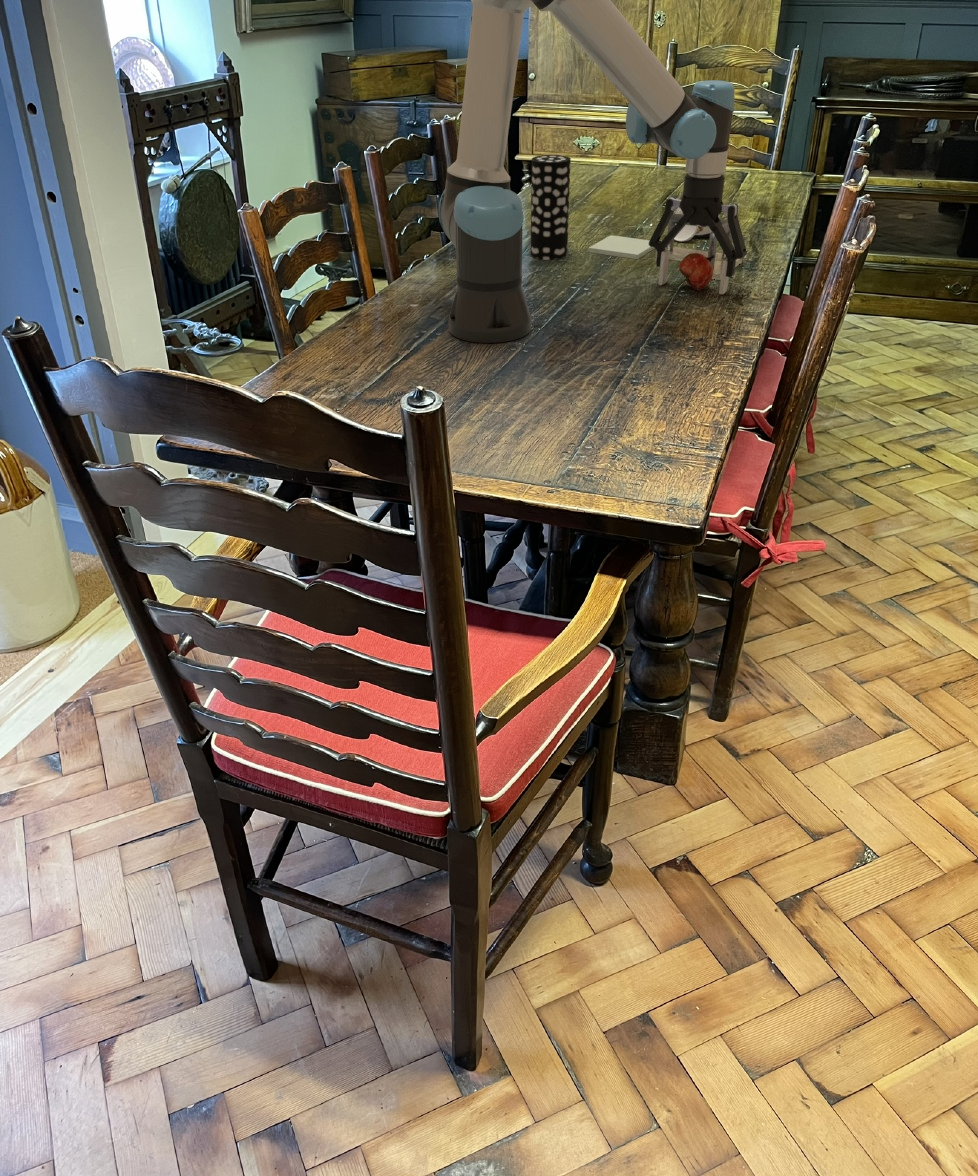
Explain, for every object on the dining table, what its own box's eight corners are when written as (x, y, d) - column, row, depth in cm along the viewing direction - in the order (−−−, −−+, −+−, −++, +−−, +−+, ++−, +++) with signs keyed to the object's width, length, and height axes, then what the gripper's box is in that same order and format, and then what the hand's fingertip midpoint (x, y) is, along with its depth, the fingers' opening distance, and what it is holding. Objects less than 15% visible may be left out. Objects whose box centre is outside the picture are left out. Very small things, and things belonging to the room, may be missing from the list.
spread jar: (715, 231, 225) (721, 180, 218) (719, 244, 216) (726, 191, 209) (664, 230, 226) (669, 179, 219) (667, 243, 217) (672, 190, 210)
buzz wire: (719, 280, 193) (725, 235, 188) (639, 268, 201) (642, 224, 196) (742, 262, 204) (748, 218, 198) (665, 251, 211) (669, 209, 206)
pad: (637, 259, 206) (637, 254, 206) (588, 252, 211) (588, 247, 211) (658, 246, 215) (658, 241, 214) (610, 239, 220) (610, 235, 219)
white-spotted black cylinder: (564, 260, 206) (568, 163, 195) (527, 259, 207) (528, 162, 196) (569, 250, 213) (573, 155, 201) (533, 249, 214) (535, 154, 203)
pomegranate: (684, 306, 187) (728, 275, 183) (664, 276, 184) (708, 244, 181) (680, 299, 193) (722, 268, 190) (660, 270, 191) (702, 238, 187)
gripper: (774, 176, 174) (757, 291, 186) (652, 164, 184) (643, 274, 197) (762, 184, 169) (745, 302, 181) (637, 171, 179) (629, 284, 191)
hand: (692, 288), depth 189 cm, fingers open, 12 cm apart
